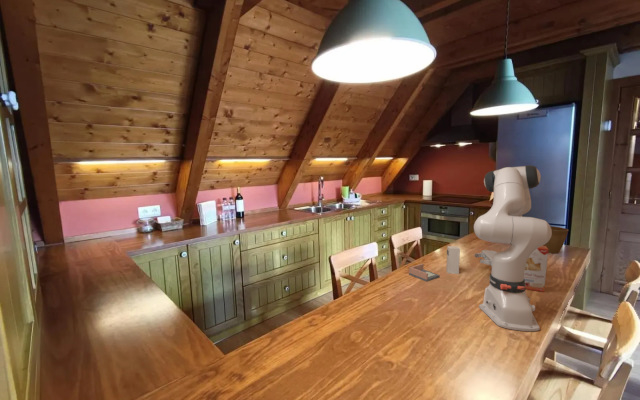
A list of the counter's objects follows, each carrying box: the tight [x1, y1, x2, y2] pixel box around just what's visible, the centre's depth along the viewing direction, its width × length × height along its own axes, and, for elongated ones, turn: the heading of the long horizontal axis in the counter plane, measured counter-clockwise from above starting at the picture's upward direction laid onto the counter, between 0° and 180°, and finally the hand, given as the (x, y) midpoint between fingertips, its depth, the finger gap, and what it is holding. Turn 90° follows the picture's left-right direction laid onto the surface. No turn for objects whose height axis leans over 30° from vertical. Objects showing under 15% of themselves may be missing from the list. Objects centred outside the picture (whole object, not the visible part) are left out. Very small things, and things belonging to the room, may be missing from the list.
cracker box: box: [524, 245, 549, 293], centre depth 141 cm, size 14×6×21 cm, turn 62°
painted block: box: [445, 245, 461, 275], centre depth 162 cm, size 4×6×14 cm
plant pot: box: [542, 225, 569, 254], centre depth 196 cm, size 15×15×16 cm
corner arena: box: [408, 263, 440, 282], centre depth 158 cm, size 11×10×4 cm
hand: (477, 258), depth 159 cm, fingers open, 8 cm apart
